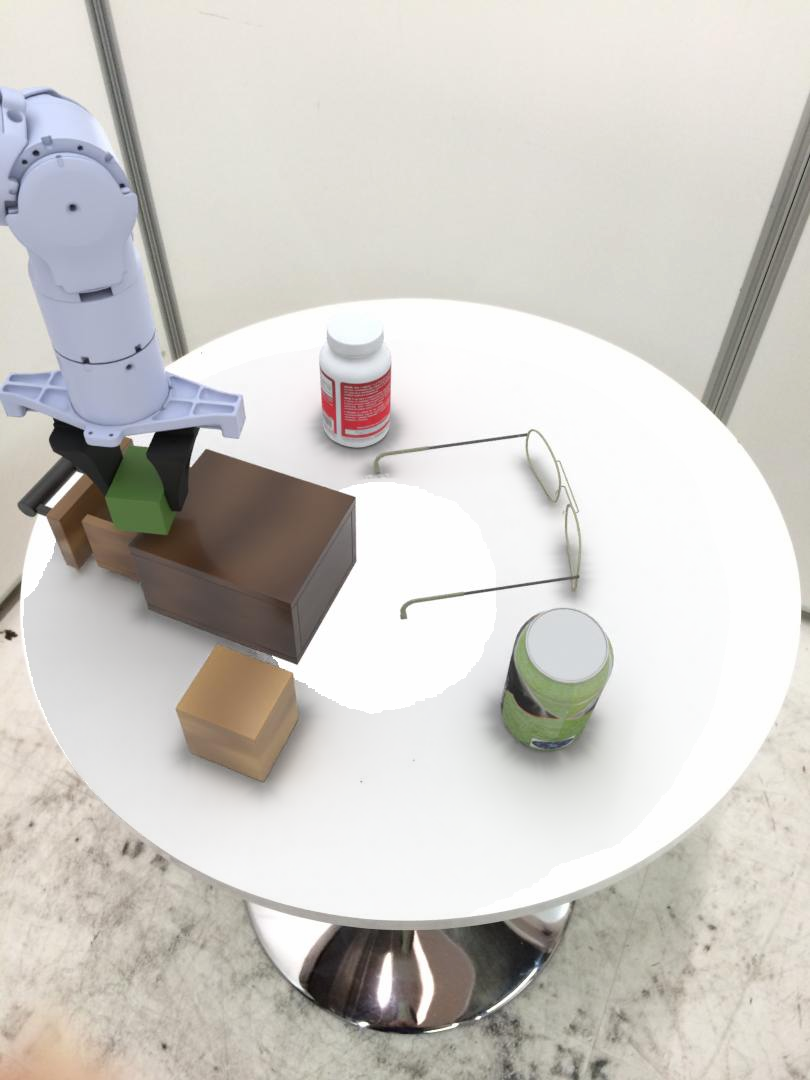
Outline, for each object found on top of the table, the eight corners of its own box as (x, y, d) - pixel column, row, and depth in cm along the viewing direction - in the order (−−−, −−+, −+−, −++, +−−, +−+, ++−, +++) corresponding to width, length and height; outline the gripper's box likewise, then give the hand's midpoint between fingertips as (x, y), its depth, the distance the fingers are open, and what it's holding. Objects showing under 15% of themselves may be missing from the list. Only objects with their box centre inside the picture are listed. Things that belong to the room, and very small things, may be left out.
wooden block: (189, 752, 58) (174, 708, 54) (227, 690, 62) (216, 643, 57) (263, 783, 57) (254, 740, 53) (298, 718, 60) (293, 672, 56)
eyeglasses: (588, 600, 68) (602, 560, 64) (400, 620, 66) (402, 580, 62) (537, 458, 78) (546, 416, 74) (372, 472, 76) (373, 429, 72)
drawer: (14, 546, 68) (-10, 495, 64) (86, 468, 74) (68, 417, 70) (195, 613, 65) (183, 565, 60) (256, 526, 70) (248, 476, 66)
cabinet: (148, 609, 66) (127, 545, 60) (218, 514, 72) (205, 448, 67) (297, 665, 63) (290, 603, 57) (356, 561, 70) (356, 496, 64)
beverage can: (583, 684, 63) (619, 583, 54) (586, 778, 58) (627, 686, 49) (496, 675, 63) (518, 573, 54) (493, 768, 58) (517, 675, 49)
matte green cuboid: (137, 477, 62) (128, 444, 59) (187, 482, 61) (180, 449, 59) (115, 530, 58) (104, 497, 56) (167, 535, 58) (159, 503, 56)
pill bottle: (402, 420, 81) (406, 320, 72) (367, 459, 77) (367, 359, 69) (345, 396, 83) (343, 296, 74) (309, 434, 79) (302, 333, 71)
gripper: (-53, 365, 47) (23, 530, 57) (213, 390, 46) (241, 553, 56) (0, 290, 51) (61, 456, 62) (242, 312, 51) (263, 476, 61)
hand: (149, 497), depth 59 cm, fingers closed on matte green cuboid, 3 cm apart
